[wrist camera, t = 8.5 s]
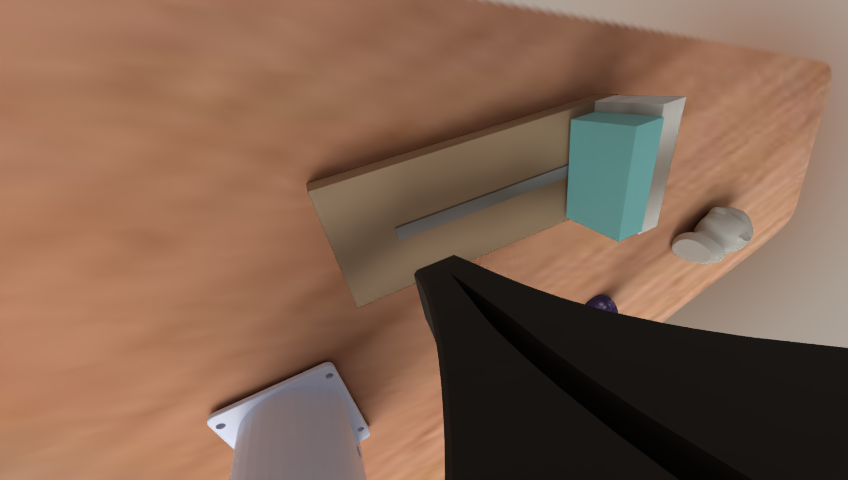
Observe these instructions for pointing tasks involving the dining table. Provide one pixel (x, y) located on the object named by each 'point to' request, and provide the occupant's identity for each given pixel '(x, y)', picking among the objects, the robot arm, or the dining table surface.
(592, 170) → the sliding jaw
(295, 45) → the dining table surface
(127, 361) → the dining table surface
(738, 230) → the pale two-lobed sculpture
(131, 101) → the dining table surface
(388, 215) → the clamp board
